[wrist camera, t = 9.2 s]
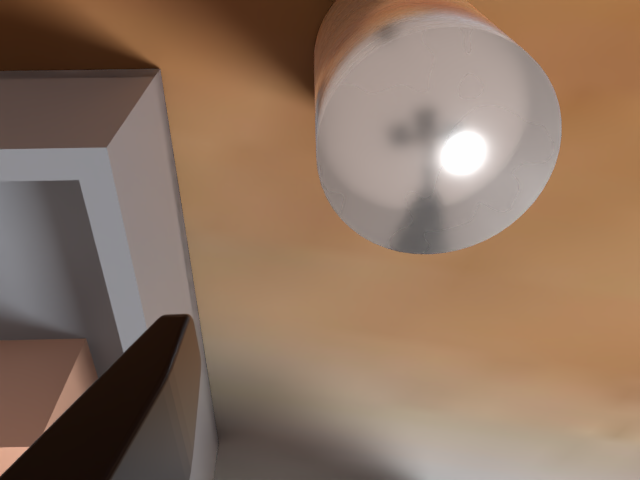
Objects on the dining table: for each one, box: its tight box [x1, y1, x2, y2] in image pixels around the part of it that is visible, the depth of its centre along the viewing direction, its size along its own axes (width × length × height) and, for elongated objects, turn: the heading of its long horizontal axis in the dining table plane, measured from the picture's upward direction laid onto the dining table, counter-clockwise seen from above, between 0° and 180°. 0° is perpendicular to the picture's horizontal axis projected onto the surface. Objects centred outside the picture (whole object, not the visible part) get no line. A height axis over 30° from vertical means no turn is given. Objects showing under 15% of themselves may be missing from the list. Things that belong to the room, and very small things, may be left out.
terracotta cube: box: [0, 338, 98, 476], centre depth 22 cm, size 5×5×5 cm
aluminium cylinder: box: [314, 0, 561, 254], centre depth 15 cm, size 5×5×7 cm
